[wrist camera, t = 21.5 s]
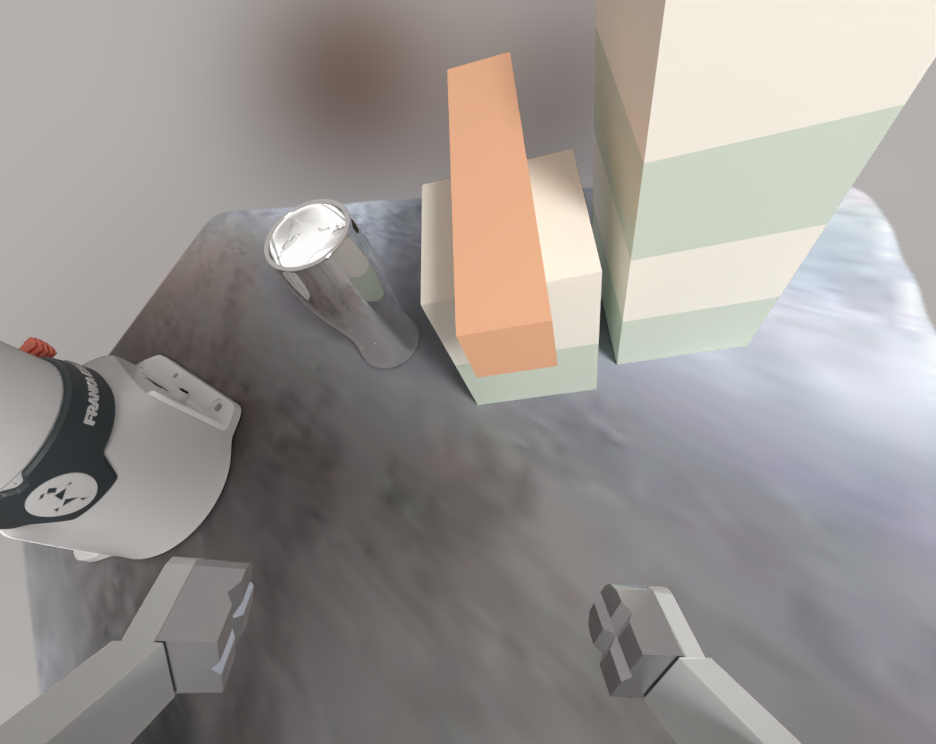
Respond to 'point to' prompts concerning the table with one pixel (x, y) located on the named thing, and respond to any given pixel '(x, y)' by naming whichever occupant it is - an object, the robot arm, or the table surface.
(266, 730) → the table surface
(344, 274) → the beer glass
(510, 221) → the long brick
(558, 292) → the short tower
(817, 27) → the tall tower
